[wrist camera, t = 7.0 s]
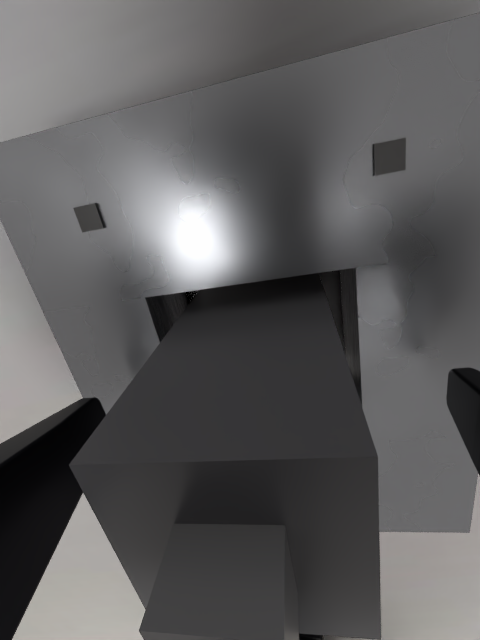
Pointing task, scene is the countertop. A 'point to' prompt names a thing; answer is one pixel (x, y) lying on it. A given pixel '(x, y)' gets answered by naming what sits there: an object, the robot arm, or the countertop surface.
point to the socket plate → (282, 232)
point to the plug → (243, 473)
